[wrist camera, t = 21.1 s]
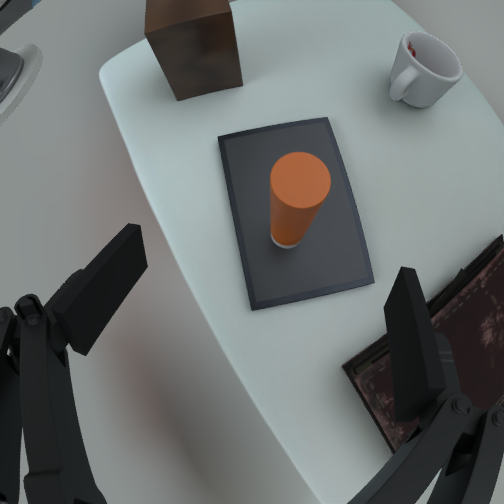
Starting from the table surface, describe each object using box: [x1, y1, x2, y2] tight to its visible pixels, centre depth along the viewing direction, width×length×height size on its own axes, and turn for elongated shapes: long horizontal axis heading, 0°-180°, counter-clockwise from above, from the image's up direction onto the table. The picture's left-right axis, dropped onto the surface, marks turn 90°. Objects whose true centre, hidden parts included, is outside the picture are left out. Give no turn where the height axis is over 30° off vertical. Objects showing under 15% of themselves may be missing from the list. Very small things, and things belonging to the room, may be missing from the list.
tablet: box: [218, 117, 375, 311], centre depth 29 cm, size 12×18×1 cm, turn 11°
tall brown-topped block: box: [145, 0, 243, 101], centre depth 26 cm, size 8×8×12 cm
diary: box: [342, 234, 504, 468], centre depth 24 cm, size 19×25×5 cm
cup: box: [389, 31, 463, 108], centre depth 26 cm, size 11×8×8 cm
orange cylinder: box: [270, 152, 331, 249], centre depth 21 cm, size 3×3×14 cm
